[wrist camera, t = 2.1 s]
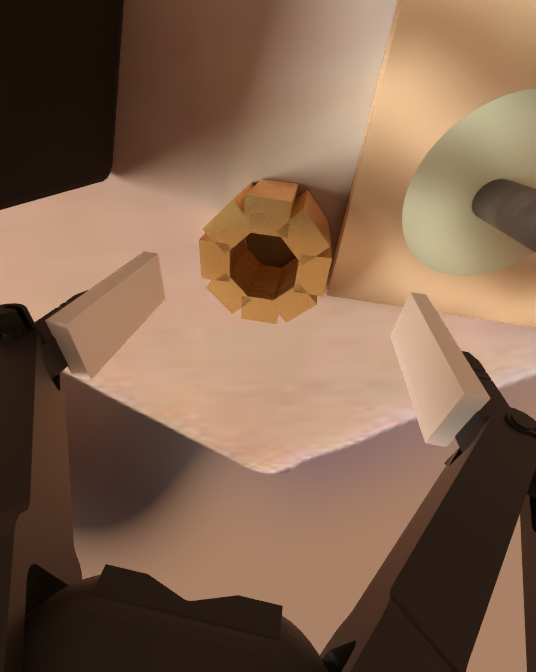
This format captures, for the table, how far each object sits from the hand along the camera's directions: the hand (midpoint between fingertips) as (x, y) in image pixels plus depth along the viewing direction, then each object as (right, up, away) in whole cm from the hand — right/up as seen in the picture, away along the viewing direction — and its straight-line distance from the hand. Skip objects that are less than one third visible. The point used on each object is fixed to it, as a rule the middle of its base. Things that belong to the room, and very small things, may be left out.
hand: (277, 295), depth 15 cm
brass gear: (0, +5, +5) cm, 7 cm away
